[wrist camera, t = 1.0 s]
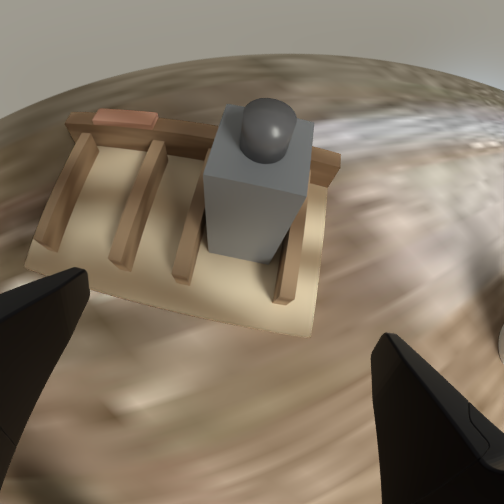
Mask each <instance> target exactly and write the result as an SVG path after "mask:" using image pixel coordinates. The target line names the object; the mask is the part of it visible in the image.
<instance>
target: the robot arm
mask: <svg viewBox="0 0 504 504" xmlns="http://www.w3.org/2000/svg"><path fill="white" fill-rule="evenodd" d="M89 296H90V289H89V280H88V273H87V271H86V270H85V269H82V268H78V267H72V268H70V269H67V270H64V271H61V272H58V273H55V274H53V275H50V276H47V277H44V278H42V279H39V280H36V281H33V282H31V283H28V284H25V285H23V286H20V287H17V288H15V289H12V290H9V291H7V292H4V293H2V294H0V490H1V487H2V484H3V481H4V478H5V476H6V473H7V470H8V467H9V465H10V462H11V460H12V457H13V455H14V452H15V450H16V446H17V444H18V442H19V440H20V437H21V435H22V433H23V430H24V428H25V426H26V424H27V421H28V419H29V417H30V415H31V413H32V411H33V409H34V406H35V404H36V402H37V400H38V398H39V396H40V394H41V392H42V390H43V388H44V386H45V384H46V382H47V380H48V379H49V377H50V375H51V373H52V371H53V369H54V367H55V365H56V364H57V362H58V360H59V358H60V356H61V355H62V353H63V351H64V349H65V347H66V346H67V344H68V342H69V340H70V338H71V336H72V334H73V332H74V330H75V328H76V325H77V323H78V321H79V319H80V317H81V315H82V312H83V310H84V308H85V306H86V304H87V302H88V300H89ZM371 375H372V398H373V408H374V416H375V424H376V432H377V442H378V452H379V463H380V476H381V492H382V504H504V433H503V432H502V431H501V430H499V429H498V428H497V427H496V426H495V425H494V424H493V423H491V422H490V421H489V420H488V419H487V418H486V417H485V416H484V415H483V414H482V413H480V412H479V411H478V410H477V409H476V408H475V407H474V406H473V405H472V404H471V403H470V402H468V400H467V399H466V398H465V397H464V396H463V395H462V394H461V393H460V392H458V391H457V390H456V389H455V388H454V387H453V386H452V385H451V384H450V383H449V382H448V381H447V380H446V379H445V378H444V377H443V376H442V375H440V374H439V373H438V372H437V371H436V370H435V369H434V368H433V367H432V366H431V365H430V364H429V363H428V362H427V361H425V360H424V359H423V358H422V357H421V356H420V355H419V354H418V353H417V352H416V351H415V350H413V349H412V348H411V347H410V346H409V345H408V344H407V343H406V342H405V341H404V340H402V339H401V338H400V337H399V336H398V335H397V334H394V333H384V334H382V336H381V337H380V339H379V341H378V343H377V344H376V346H375V348H374V349H373V351H372V354H371Z"/></svg>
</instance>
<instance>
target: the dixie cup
mask: <svg viewBox="0 0 504 504" xmlns="http://www.w3.org/2000/svg"><path fill="white" fill-rule="evenodd" d="M499 355H500V358H501V361H502V363H503V364H504V324H503V326H502V328H501V331H500V336H499Z"/></svg>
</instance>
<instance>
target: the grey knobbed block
mask: <svg viewBox="0 0 504 504" xmlns="http://www.w3.org/2000/svg"><path fill="white" fill-rule="evenodd" d="M313 131H314V123H313V122H310V121H306V120H302V119H298V118H297V117H296V114H295V112H294V111H293V109H292V108H291V107H290V106H289V105H287V104H286V103H284V102H282V101H279V100H276V99H272V98H260V99H256V100H253V101H251V102H250V103H249V104H247V106H246V107H242V106H236V105H231V104H227V105H226V108H225V110H224V113H223V116H222V119H221V122H220V125H219V128H218V130H217V133H216V136H215V139H214V142H213V145H212V148H211V151H210V154H209V157H208V160H207V163H206V167H205V170H204V173H203V183H204V198H205V212H206V226H207V238H208V250H209V253H214V254H218V255H223V256H228V257H233V258H237V259H242V260H247V261H252V262H257V263H262V264H266V265H269V263H270V261H271V260H272V258H273V256H274V254H275V253H276V251H277V249H278V247H279V246H280V244H281V242H282V240H283V238H284V237H285V235H286V233H287V231H288V230H289V228H290V226H291V224H292V222H293V221H294V219H295V217H296V215H297V213H298V212H299V210H300V208H301V206H302V204H303V203H304V201H305V199H306V197H307V191H308V182H309V172H310V163H311V152H312V142H313Z"/></svg>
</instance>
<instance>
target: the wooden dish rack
mask: <svg viewBox="0 0 504 504" xmlns="http://www.w3.org/2000/svg"><path fill="white" fill-rule="evenodd" d="M65 125H66V127H67V129H68V131H69V133H70V134H71V136H72V138H73V140H74V142H75V143H76V144H75V146H74V148H73V150H72V151H71V153H70V155H69V157H68V159H67V161H66V163H65V165H64V167H63V169H62V171H61V173H60V175H59V177H58V179H57V182H56V184H55V186H54V188H53V190H52V192H51V195H50V197H49V199H48V202H47V204H46V206H45V209H44V211H43V214H42V216H41V219H40V221H39V224H38V226H37V229H36V232H35V234H34V237H33V240H32V243H31V246H30V249H29V252H28V255H27V258H26V261H25V265H24V267H25V268H27V269H28V270H31V271H34V272H37V273H40V274H43V275H46V276H50V275H53V274H55V273H58V272H61V271H64V270H67V269H70V268H72V267H78V268H82V269H85V270H86V271H87V273H88V280H89V289H90V290H94V291H97V292H101V293H104V294H108V295H111V296H115V297H118V298H122V299H126V300H129V301H133V302H137V303H141V304H144V305H148V306H152V307H156V308H160V309H164V310H168V311H173V312H177V313H181V314H185V315H190V316H194V317H199V318H203V319H208V320H212V321H217V322H222V323H227V324H232V325H237V326H242V327H247V328H252V329H257V330H263V331H268V332H274V333H280V334H286V335H292V336H298V337H304V338H311V332H312V325H313V318H314V311H315V304H316V296H317V289H318V281H319V273H320V264H321V255H322V246H323V236H324V225H325V214H326V202H327V189H328V186H329V185H330V183H331V182H332V180H333V178H334V177H335V175H336V174H337V172H338V171H339V169H340V162H341V154H339V153H335V152H332V151H328V150H324V149H321V148H317V147H313V146H312V152H311V163H310V172H309V182H308V191H307V197H306V199H305V201H304V203H303V204H302V206H301V208H300V210H299V212H298V213H297V215H296V217H295V219H294V221H293V222H292V224H291V226H290V228H289V230H288V231H287V233H286V235H285V237H284V238H283V240H282V242H281V244H280V246H279V247H278V249H277V251H276V253H275V254H274V256H273V258H272V260H271V261H270V263H269V265H266V264H262V263H257V262H252V261H247V260H242V259H237V258H233V257H228V256H223V255H218V254H214V253H209V250H208V238H207V226H206V212H205V198H204V183H203V173H204V170H205V167H206V163H207V160H208V157H209V154H210V151H211V148H212V145H213V142H214V139H215V136H216V133H217V130H218V128H219V126H215V125H209V124H202V123H196V122H189V121H181V120H174V119H165V118H158V113H154V112H144V111H132V110H118V109H99V110H98V111H97V113H89V112H71V114H70V115H69V117H68V118H67V120H66V122H65Z"/></svg>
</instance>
